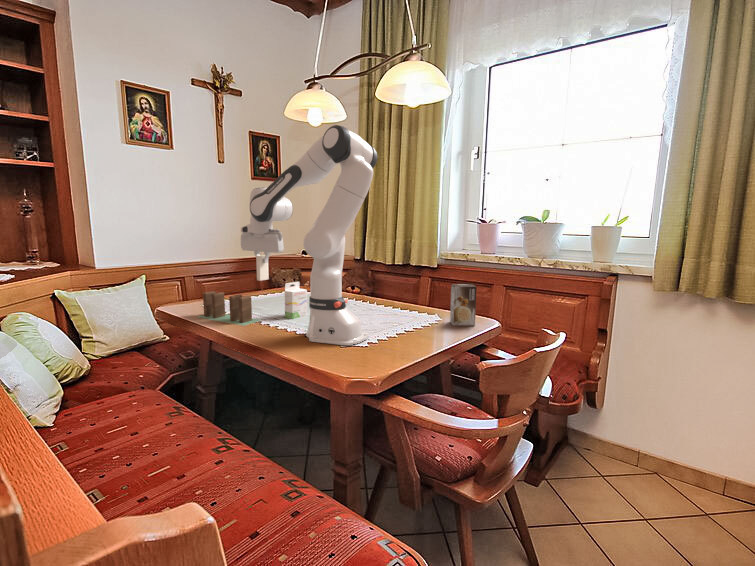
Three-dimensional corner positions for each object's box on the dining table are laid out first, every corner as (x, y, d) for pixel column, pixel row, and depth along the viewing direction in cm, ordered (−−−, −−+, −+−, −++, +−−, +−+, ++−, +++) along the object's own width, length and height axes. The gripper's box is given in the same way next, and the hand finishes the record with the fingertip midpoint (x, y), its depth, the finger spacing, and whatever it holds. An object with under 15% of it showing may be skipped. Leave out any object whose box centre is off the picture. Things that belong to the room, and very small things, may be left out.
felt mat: (262, 320, 163) (262, 320, 163) (244, 326, 154) (243, 325, 154) (215, 312, 175) (215, 312, 175) (195, 317, 166) (195, 316, 166)
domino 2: (225, 315, 168) (224, 292, 167) (215, 318, 164) (214, 294, 162) (222, 315, 169) (221, 292, 168) (212, 317, 165) (211, 294, 163)
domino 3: (242, 318, 164) (241, 294, 162) (233, 321, 160) (232, 297, 158) (239, 318, 165) (238, 294, 163) (230, 320, 160) (229, 296, 159)
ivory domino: (268, 279, 167) (268, 255, 165) (260, 280, 163) (259, 256, 161) (265, 278, 168) (264, 255, 166) (256, 280, 163) (256, 256, 162)
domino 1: (216, 314, 171) (215, 291, 169) (207, 316, 166) (205, 293, 165) (213, 313, 171) (212, 291, 170) (204, 316, 167) (202, 292, 165)
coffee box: (471, 321, 167) (473, 283, 164) (475, 325, 160) (477, 286, 158) (449, 321, 166) (451, 283, 164) (452, 325, 160) (454, 286, 157)
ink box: (292, 319, 165) (291, 284, 163) (284, 318, 168) (283, 283, 165) (307, 316, 172) (307, 282, 169) (300, 314, 175) (299, 281, 172)
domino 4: (252, 320, 162) (251, 296, 160) (242, 323, 157) (241, 298, 156) (248, 319, 163) (247, 295, 161) (239, 322, 158) (238, 297, 157)
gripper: (286, 229, 160) (287, 263, 162) (248, 227, 169) (249, 260, 171) (276, 229, 155) (276, 265, 157) (237, 228, 164) (238, 261, 166)
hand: (262, 262), depth 164 cm, fingers closed on ivory domino, 2 cm apart
